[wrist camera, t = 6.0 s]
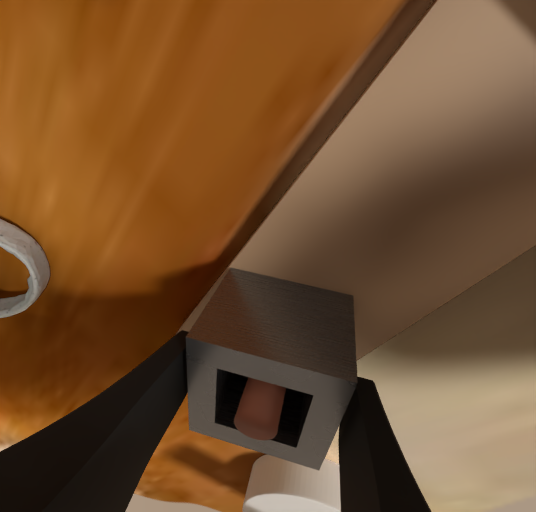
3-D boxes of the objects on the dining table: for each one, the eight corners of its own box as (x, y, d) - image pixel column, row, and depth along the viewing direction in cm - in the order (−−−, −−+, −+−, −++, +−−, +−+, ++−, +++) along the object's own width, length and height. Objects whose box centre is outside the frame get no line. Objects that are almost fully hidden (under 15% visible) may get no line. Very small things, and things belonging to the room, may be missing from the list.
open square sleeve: (353, 295, 11) (357, 383, 8) (325, 377, 14) (319, 470, 10) (230, 267, 12) (185, 337, 8) (225, 350, 14) (189, 430, 11)
